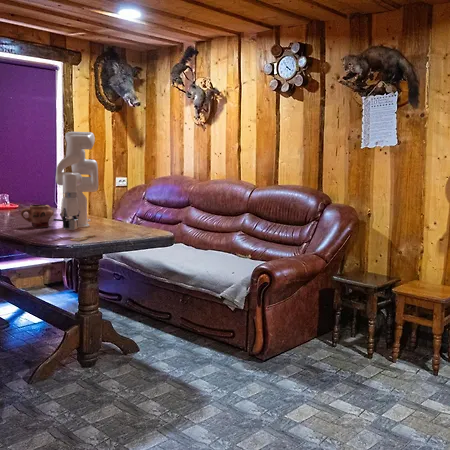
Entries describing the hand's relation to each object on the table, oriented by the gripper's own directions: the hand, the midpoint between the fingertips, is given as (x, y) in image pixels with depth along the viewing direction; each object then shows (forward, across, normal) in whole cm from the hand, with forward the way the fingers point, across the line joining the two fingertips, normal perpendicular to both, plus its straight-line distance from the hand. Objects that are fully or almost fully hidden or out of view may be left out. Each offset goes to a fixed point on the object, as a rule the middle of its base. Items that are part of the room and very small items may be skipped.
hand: (70, 226), depth 292 cm
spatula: (+6, +1, +10) cm, 11 cm away
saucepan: (+1, 0, -4) cm, 4 cm away
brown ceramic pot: (+6, -21, -40) cm, 46 cm away
